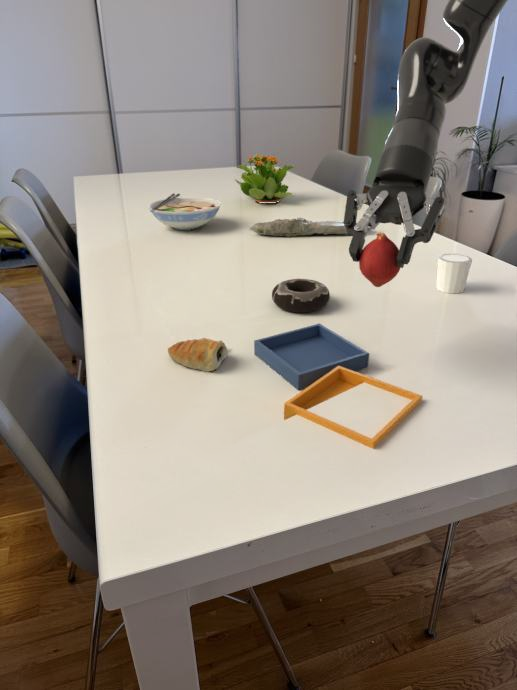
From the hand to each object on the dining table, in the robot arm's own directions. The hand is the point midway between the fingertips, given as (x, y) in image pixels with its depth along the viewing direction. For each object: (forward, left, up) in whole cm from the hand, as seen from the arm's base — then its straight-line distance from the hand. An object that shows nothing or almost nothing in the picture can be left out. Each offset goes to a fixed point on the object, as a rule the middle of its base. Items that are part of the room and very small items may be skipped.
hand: (376, 261), depth 71 cm
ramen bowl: (-26, -99, -18) cm, 104 cm away
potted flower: (-70, -113, -18) cm, 134 cm away
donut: (-11, -28, -18) cm, 35 cm away
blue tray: (+4, -9, -18) cm, 20 cm away
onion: (-2, -1, -4) cm, 5 cm away
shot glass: (-42, -14, -18) cm, 48 cm away
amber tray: (+10, +6, -18) cm, 21 cm away
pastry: (+18, -20, -18) cm, 32 cm away
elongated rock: (-51, -68, -18) cm, 87 cm away
